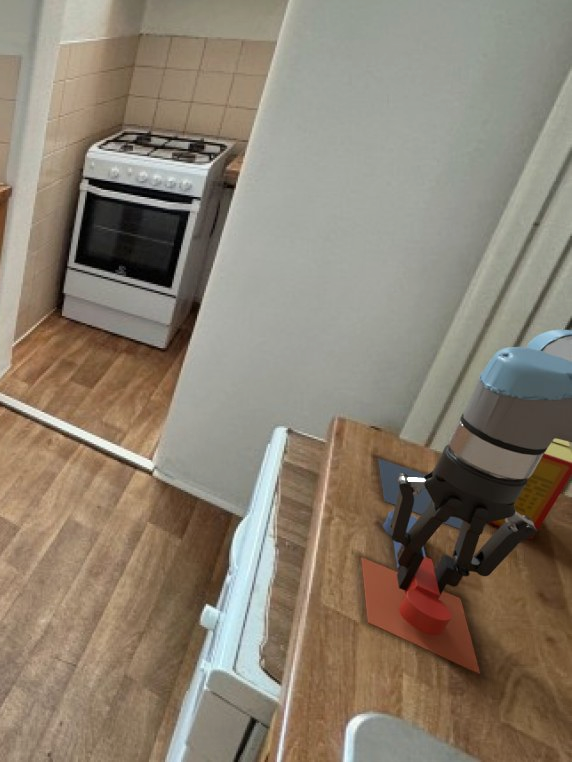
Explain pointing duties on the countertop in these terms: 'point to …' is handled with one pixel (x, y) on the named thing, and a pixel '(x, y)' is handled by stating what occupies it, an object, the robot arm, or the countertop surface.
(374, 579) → the terracotta mat
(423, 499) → the slate mat
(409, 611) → the red keyhole-shaped block
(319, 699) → the countertop surface
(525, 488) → the baking soda box
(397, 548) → the blue t-shaped piece
